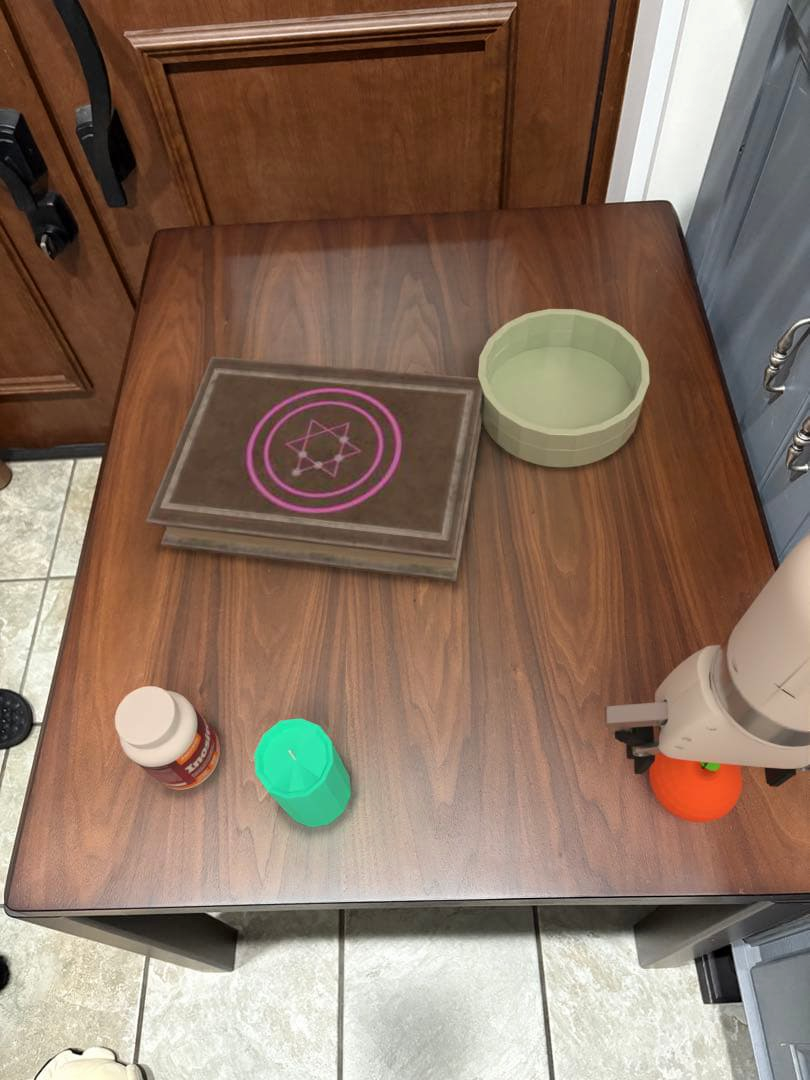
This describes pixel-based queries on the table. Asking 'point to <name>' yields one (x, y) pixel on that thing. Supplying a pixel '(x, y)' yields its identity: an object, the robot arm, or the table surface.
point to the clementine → (695, 787)
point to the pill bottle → (167, 737)
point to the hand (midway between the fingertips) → (702, 760)
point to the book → (325, 467)
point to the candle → (303, 772)
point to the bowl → (562, 387)
